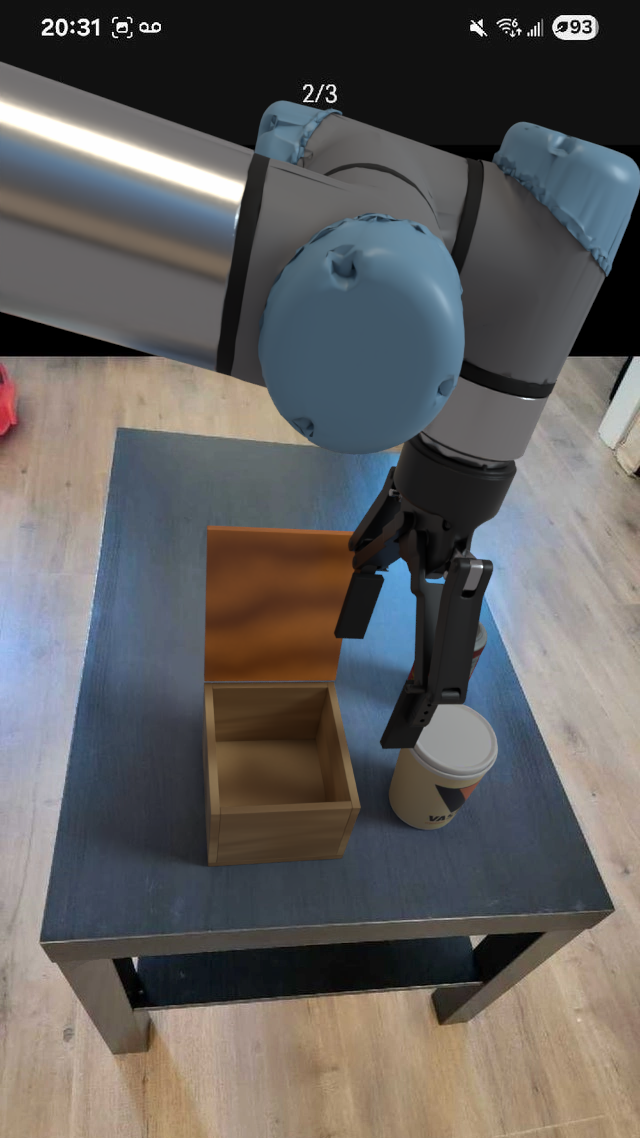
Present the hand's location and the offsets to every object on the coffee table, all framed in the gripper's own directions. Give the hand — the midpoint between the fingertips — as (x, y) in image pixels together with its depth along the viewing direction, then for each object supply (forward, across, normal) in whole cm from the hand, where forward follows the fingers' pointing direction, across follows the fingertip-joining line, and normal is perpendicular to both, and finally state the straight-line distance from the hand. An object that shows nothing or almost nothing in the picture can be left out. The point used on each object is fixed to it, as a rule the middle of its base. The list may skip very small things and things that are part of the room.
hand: (370, 686), depth 58 cm
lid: (+1, +12, +5) cm, 13 cm away
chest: (+21, +5, +4) cm, 22 cm away
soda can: (+17, +17, -19) cm, 31 cm away
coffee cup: (+19, +2, -13) cm, 23 cm away
